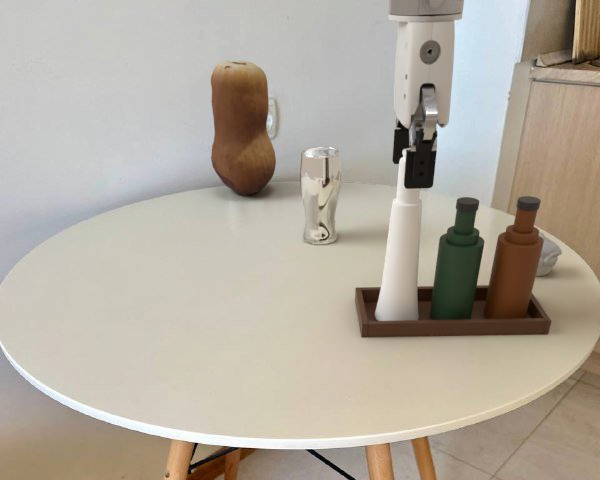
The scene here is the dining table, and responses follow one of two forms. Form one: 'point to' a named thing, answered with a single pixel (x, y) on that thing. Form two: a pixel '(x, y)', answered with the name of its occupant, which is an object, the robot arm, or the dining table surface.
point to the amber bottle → (515, 264)
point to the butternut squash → (241, 127)
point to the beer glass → (320, 192)
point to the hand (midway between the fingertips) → (411, 174)
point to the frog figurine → (547, 256)
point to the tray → (426, 326)
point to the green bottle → (458, 265)
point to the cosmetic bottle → (401, 255)
